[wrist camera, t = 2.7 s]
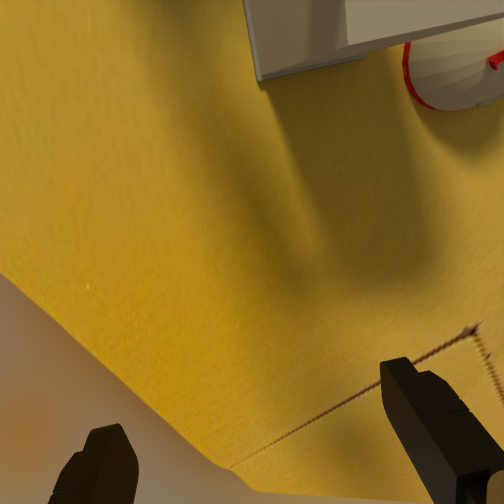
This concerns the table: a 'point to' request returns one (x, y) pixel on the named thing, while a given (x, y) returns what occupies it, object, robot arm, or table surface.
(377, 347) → the table surface
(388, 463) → the table surface
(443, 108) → the white chicken figure
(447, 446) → the robot arm
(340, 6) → the pedestal
